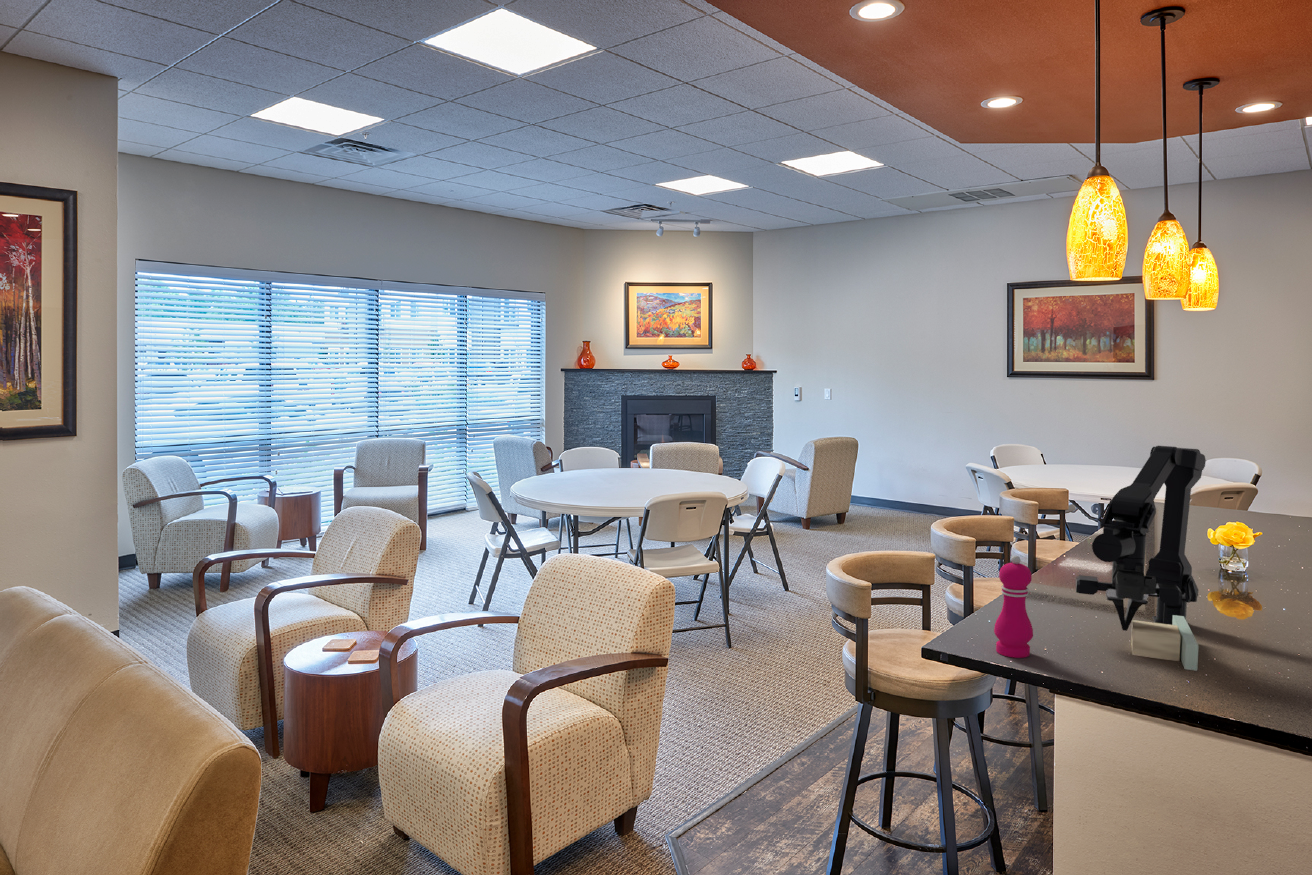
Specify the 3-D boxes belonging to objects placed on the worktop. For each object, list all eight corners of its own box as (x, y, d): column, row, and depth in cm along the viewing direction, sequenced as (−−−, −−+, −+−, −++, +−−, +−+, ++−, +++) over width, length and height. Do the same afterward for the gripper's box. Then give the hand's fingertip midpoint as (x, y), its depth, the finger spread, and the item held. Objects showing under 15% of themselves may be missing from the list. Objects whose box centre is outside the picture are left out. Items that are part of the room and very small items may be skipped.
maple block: (1131, 643, 172) (1132, 619, 172) (1176, 649, 168) (1177, 625, 168) (1132, 655, 165) (1133, 630, 165) (1179, 661, 161) (1180, 636, 161)
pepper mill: (1002, 644, 172) (1005, 549, 170) (1038, 652, 167) (1041, 555, 165) (987, 652, 167) (990, 555, 165) (1023, 661, 162) (1027, 561, 160)
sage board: (1171, 637, 175) (1172, 614, 175) (1182, 639, 174) (1183, 616, 174) (1184, 668, 157) (1186, 643, 157) (1197, 670, 156) (1198, 644, 156)
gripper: (1079, 558, 166) (1074, 634, 167) (1188, 569, 158) (1183, 648, 159) (1077, 548, 176) (1073, 619, 177) (1180, 557, 168) (1175, 632, 169)
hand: (1124, 629), depth 171 cm, fingers closed
